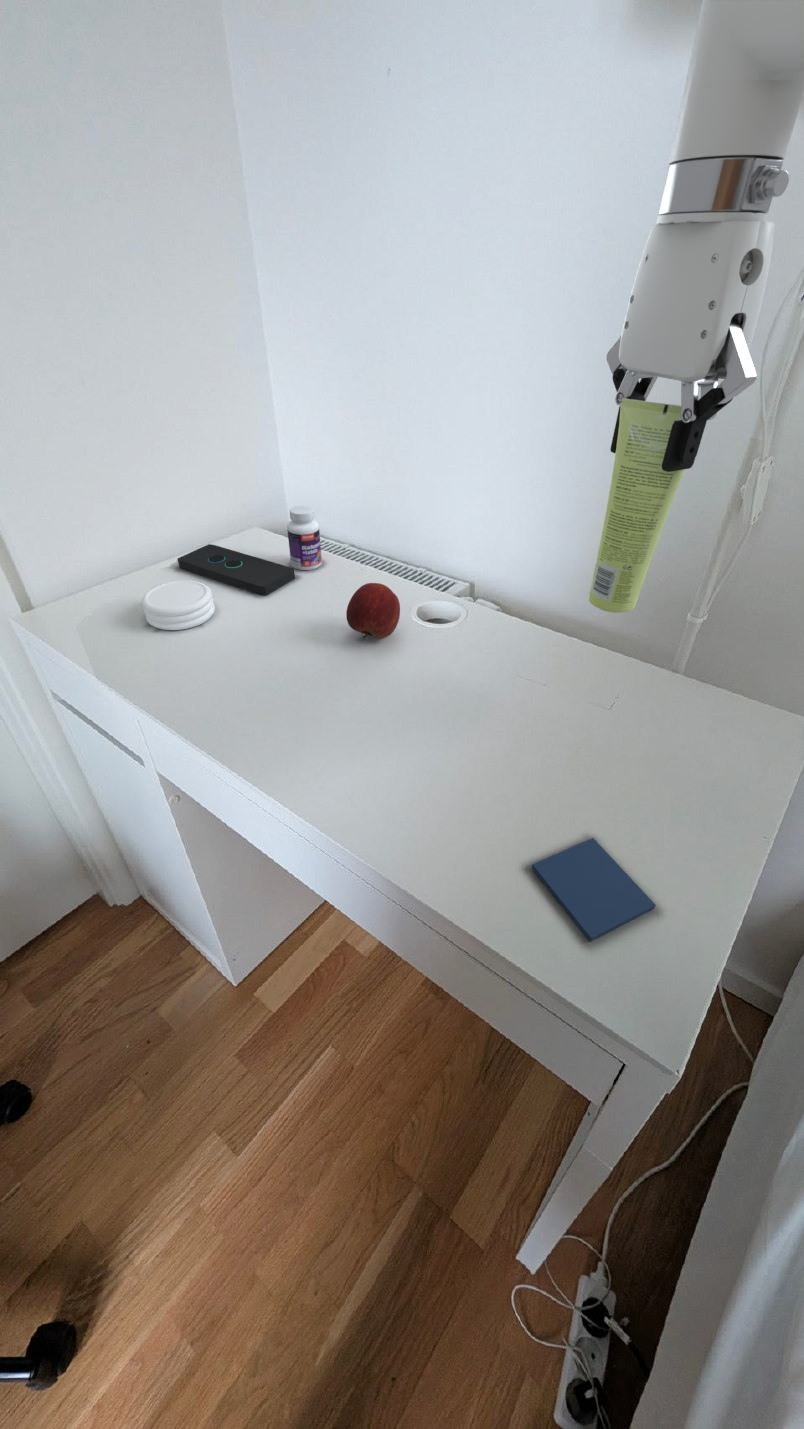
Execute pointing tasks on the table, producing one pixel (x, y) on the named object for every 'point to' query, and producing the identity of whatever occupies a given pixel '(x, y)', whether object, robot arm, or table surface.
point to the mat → (592, 888)
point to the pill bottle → (304, 539)
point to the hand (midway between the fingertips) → (649, 458)
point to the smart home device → (237, 569)
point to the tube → (634, 504)
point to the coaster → (178, 605)
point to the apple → (373, 610)
